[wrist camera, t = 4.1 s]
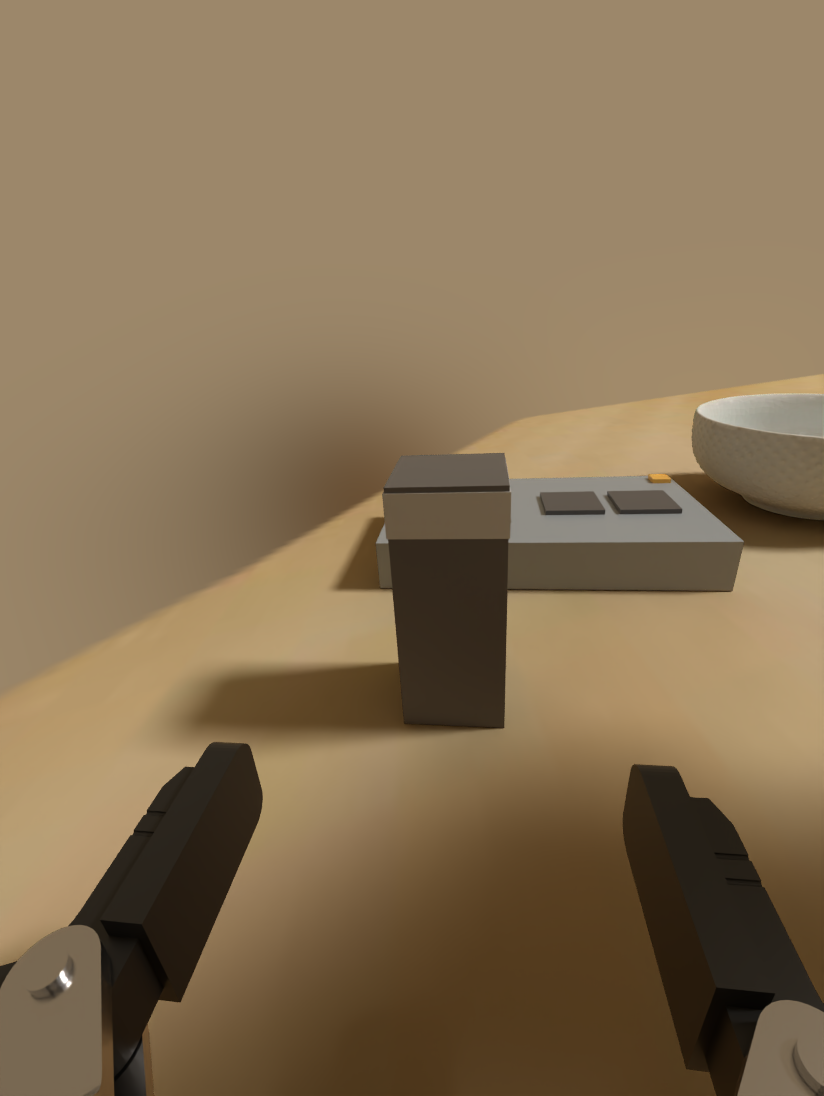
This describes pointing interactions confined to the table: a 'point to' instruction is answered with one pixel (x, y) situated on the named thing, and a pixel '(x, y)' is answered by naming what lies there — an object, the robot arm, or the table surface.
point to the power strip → (610, 537)
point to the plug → (450, 585)
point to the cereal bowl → (765, 450)
